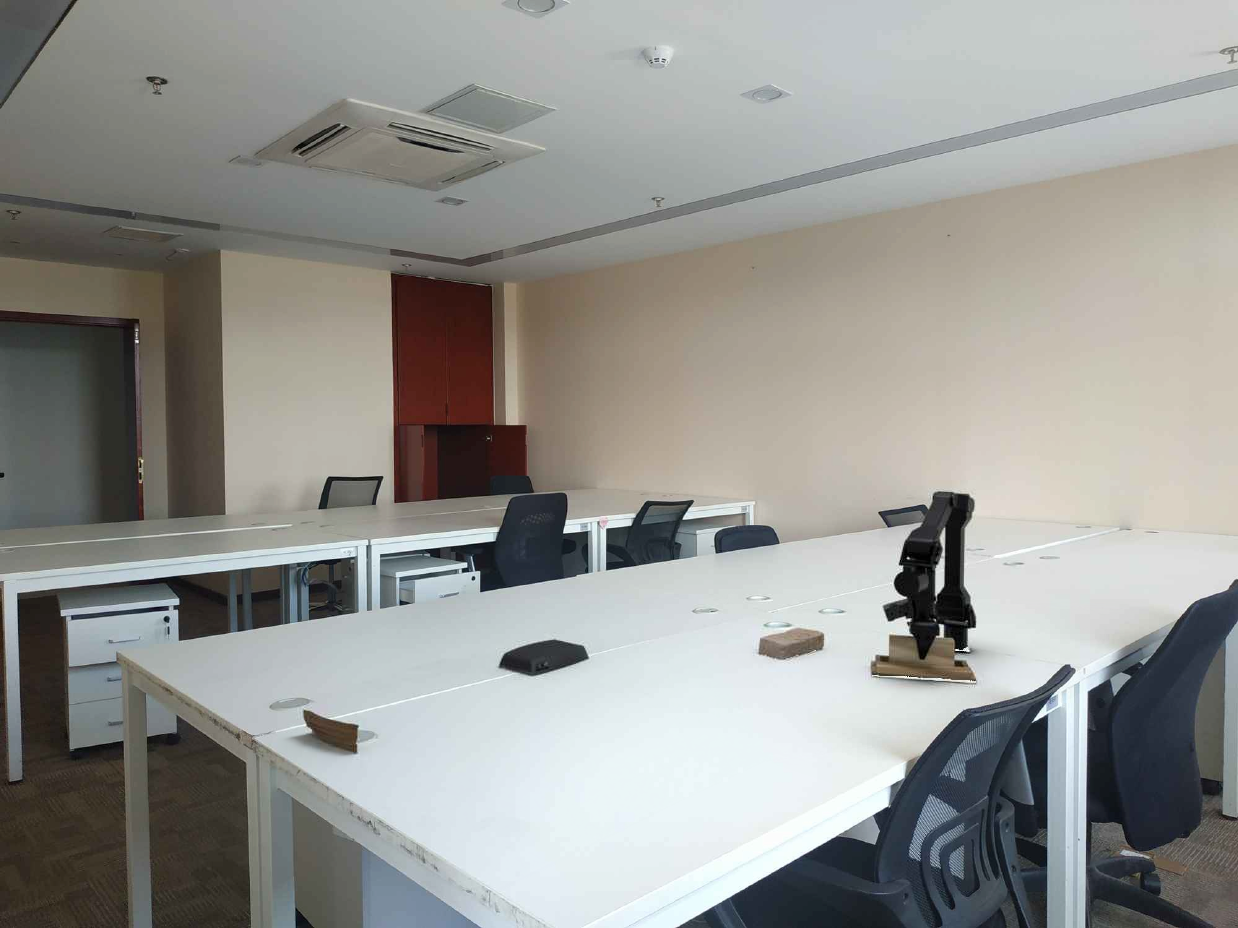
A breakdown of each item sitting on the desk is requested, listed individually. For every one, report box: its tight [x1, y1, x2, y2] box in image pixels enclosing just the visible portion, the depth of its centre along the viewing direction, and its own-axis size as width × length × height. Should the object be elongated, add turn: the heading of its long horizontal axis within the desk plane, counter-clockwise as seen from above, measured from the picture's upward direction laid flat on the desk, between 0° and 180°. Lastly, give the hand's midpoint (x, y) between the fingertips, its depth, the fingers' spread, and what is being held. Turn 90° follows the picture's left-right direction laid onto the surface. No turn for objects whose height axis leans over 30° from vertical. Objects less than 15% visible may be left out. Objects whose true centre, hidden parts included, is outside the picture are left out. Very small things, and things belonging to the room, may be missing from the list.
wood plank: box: [302, 709, 360, 754], centre depth 154 cm, size 15×2×5 cm, turn 54°
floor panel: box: [870, 654, 977, 682], centre depth 196 cm, size 10×22×2 cm, turn 75°
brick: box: [758, 627, 825, 661], centre depth 216 cm, size 17×8×5 cm, turn 129°
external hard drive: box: [498, 638, 589, 677], centre depth 207 cm, size 13×19×4 cm
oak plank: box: [888, 634, 956, 667], centre depth 197 cm, size 4×14×6 cm, turn 75°
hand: (921, 657), depth 197 cm, fingers closed on oak plank, 3 cm apart
